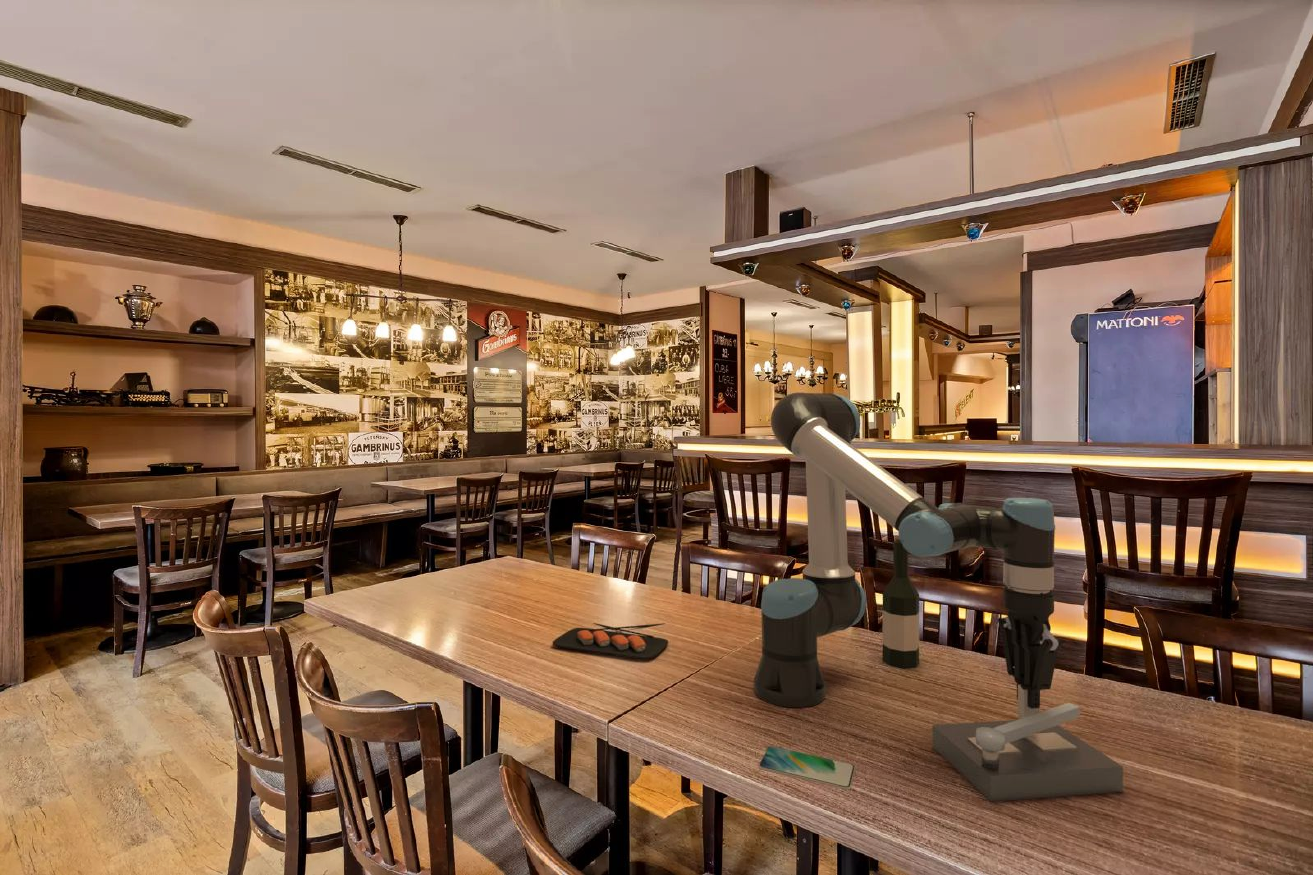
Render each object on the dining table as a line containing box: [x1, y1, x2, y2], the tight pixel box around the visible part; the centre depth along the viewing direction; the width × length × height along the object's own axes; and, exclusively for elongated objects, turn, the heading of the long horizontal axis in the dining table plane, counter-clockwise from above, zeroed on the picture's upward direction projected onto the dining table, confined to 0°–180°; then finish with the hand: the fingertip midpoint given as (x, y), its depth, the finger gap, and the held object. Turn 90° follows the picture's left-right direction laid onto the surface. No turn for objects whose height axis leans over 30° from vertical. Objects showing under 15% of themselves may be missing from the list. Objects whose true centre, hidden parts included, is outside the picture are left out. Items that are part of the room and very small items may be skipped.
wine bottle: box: [882, 537, 920, 670], centre depth 148 cm, size 8×8×30 cm
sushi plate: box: [552, 622, 669, 660], centre depth 168 cm, size 29×30×4 cm
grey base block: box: [932, 719, 1124, 803], centre depth 103 cm, size 22×16×7 cm
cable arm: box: [976, 702, 1081, 751], centre depth 101 cm, size 24×4×2 cm, turn 116°
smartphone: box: [758, 745, 856, 790], centre depth 103 cm, size 7×1×15 cm
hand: (1028, 723), depth 107 cm, fingers closed
